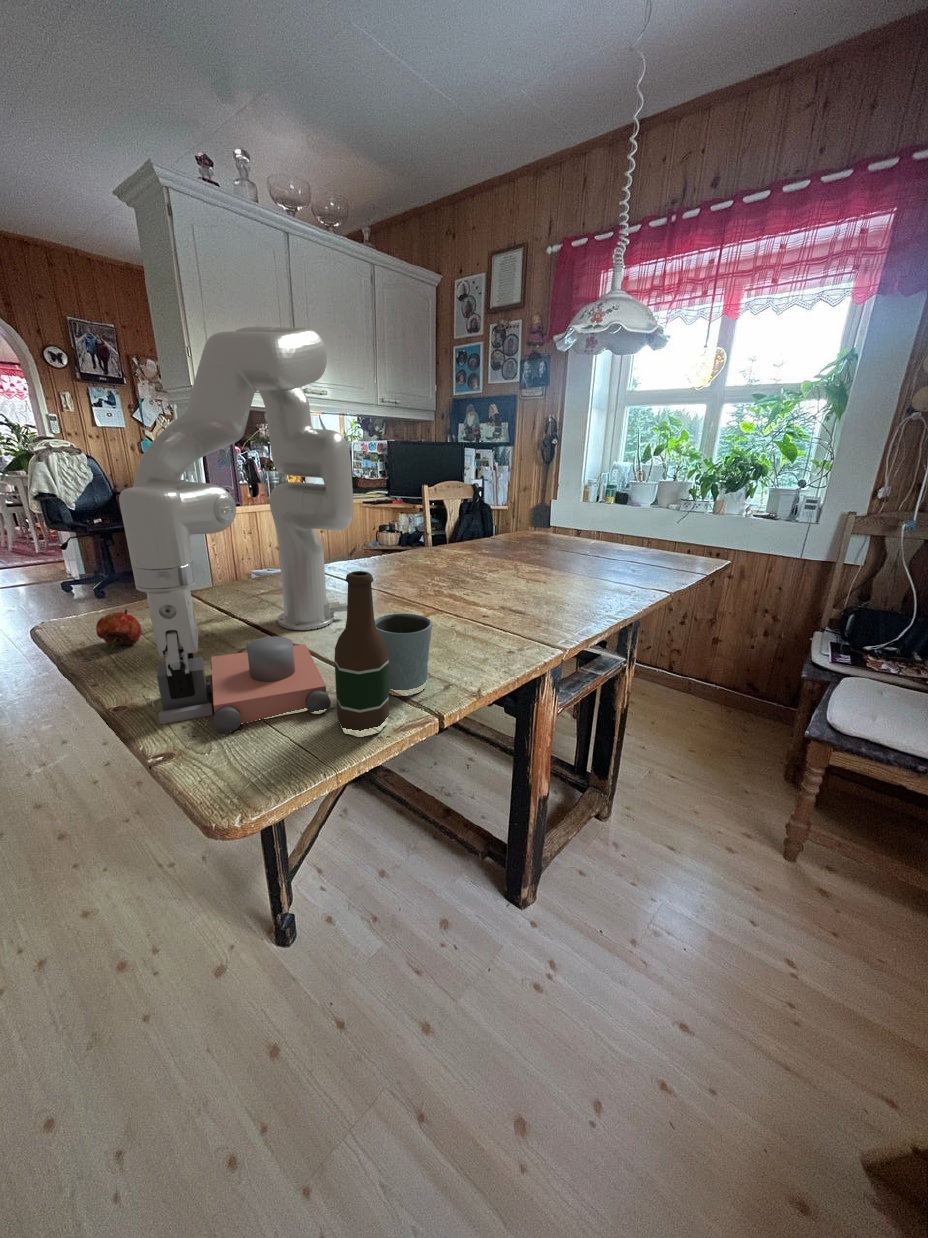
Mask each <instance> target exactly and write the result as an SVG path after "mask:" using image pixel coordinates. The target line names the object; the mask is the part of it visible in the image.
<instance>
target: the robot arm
mask: <svg viewBox="0 0 928 1238" xmlns="http://www.w3.org/2000/svg"><path fill="white" fill-rule="evenodd" d="M200 356H201V357H200V360H199V363H198V367H197V369H196V375H195V378H194V381H193V385H192V388H191V391H190V395H189V399H188V402H187V406H186V408H185V410H184V412H183V413H182V414H181V415H180V416H179V417H177V418H176V419H174V421H172V422H171V423H170V424H169V425H167V426H166V428H165V429H164V430H162V431H161V432H160V433H159V434H158V436H156V437H155V438H154V439H153V441H152V442H150V444H149V445H148V447H147V448H146V449H145V451H144V453H143V454H142V457H141V458H140V462H139V464H138V468H137V471H136V474H135V478H134V481H133V484H132V485H133V486H132V487H128V488H127V487H126V488H125V489H123V490H122V491H120V494H119V496H118V497H119V498H118V501H119V507H120V513H121V517H122V522H123V527H124V532H125V537H126V542H127V544H126V545H127V548H128V552H129V559H130V565H131V568H132V573H133V578H134V584H135V589H136V590H137V591H139V592H143V593H146V597H147V605H148V608H149V614H150V615H149V616H150V619H151V624H152V625H151V626H152V630H153V635H154V640H155V643H156V649H157V651H158V652H157V653H158V655H159V656H160V657H161V658H163V659H164V660H165V662H166V667H167V675H166V676H167V681H168V687H169V692H170V697H171V699H178V698H185V697H191V696H194V695H195V688H194V682H193V676H192V670H191V671H189V663H188V659H190V658H194V655H195V654H197V653H198V651H199V634H198V628H197V627H198V626H197V623H196V617H195V610H194V604H193V599H192V593H191V590H190V588H192V587H194V586H196V584H197V579H196V573H195V565H194V560H193V553H192V547H191V546H192V545H191V539H190V537H191V536H193V535H211V534H212V535H213V534H218V533H221V532H223V531H225V530H227V529H228V528H229V527H230V526H231V525H232V524H233V522H234V521H235V518H236V514H237V506H236V502H235V499H234V497H233V496H232V495H231V493H230V492H229V491H227V489H225V488H223V487H222V486H219V485H217V484H214V483H208V482H200V481H199V482H197V481H187V480H181V478H182V476H183V474H184V473H185V472H186V470H187V469H188V468H189V467H190V466H191V465H193V464H194V463H195V462H197V461H198V460H200V459H202V458H204V457H205V456H208V455H209V454H212V453H215V452H217V451H220V450H222V449H225V448H227V447H229V446H231V445H234V444H235V443H237V442H239V441H240V440H241V439H242V438H243V436H244V435H245V431H246V428H247V424H248V420H249V415H250V411H251V407H252V405H253V400H254V396H255V393H256V392H258V393H259V395H260V397H261V399H262V401H263V405H264V408H265V414H266V422H267V423H266V424H267V430H268V431H267V432H268V439H269V446H270V453H271V459H272V463H273V465H274V468H275V469H276V470H277V472H279V473H281V474H282V475H286V476H291V477H303V478H315V479H316V478H319V479H322V481H323V484H322V483H313V482H297V481H296V482H295V481H291V482H289V481H288V482H282V483H280V484H278V485H276V486H275V487H274V488H273V489H272V491H271V492H270V495H269V509H270V513H271V516H272V519H273V523H274V526H275V531H276V535H277V536H276V537H277V543H278V554H279V564H280V565H279V566H280V577H281V578H280V579H281V587H282V599H283V613H281V614H280V615H279V616H277V623H278V625H279V626H280V627H281V628H285V629H287V630H293V631H310V630H311V629H312V630H317V628H318V629H321V627H322V628H325V627H327V626H329V625H331V624H333V622H334V621H335V615H334V614H335V613H336V612H337V613H338V612H340V613H341V612H342V613H343V612H347V603H340V602H339V601H334V602H329V601H328V599H327V588H326V573H325V572H326V571H325V570H326V569H325V568H326V567H325V551H324V545H323V542H322V540H321V538H320V537H319V534H318V533H317V532H316V530H324V531H325V530H326V531H327V530H328V531H343V530H345V529H347V528H349V527H350V526H351V523H352V521H353V517H354V491H353V490H354V489H353V475H352V461H351V460H352V459H351V451H350V448H349V445H348V442H347V440H346V438H345V437H344V436H343V435H342V434H341V433H340V432H339V431H336V430H332V429H325V428H324V429H322V428H321V429H319V428H313V424H312V416H311V415H312V414H311V409H310V402H309V399H308V397H307V395H306V393H305V391H304V389H303V387H305V386H308V385H310V384H313V383H315V382H318V381H319V379H321V378H322V376H323V375H324V373H325V371H326V368H327V364H328V356H327V350H326V346H325V343H324V341H323V339H322V337H321V336H320V335H319V334H318V333H317V332H316V331H315V330H313V329H311V328H310V327H294V326H293V327H291V326H289V327H288V326H281V327H280V326H247V327H241V328H238V329H236V330H235V331H233V330H232V331H229V330H227V331H220V332H216V333H214V334H212V335H211V336H210V337H209V338H208V339H207V341H206V342H205V344H204V346H203V350H202V353H201V355H200ZM315 529H316V530H315ZM333 620H334V621H333ZM330 623H331V624H330ZM328 624H329V625H328ZM324 626H325V627H324ZM180 660H184V663H183V661H180Z"/></svg>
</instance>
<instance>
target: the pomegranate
mask: <svg viewBox="0 0 928 1238" xmlns="http://www.w3.org/2000/svg"><path fill="white" fill-rule="evenodd" d="M95 628H96V629H95V630H96V631H95V632H96V635H97V637H98V638H100V639H103V640H104V641H105V643H107V644H108V645H110V646H111V647H110V649H109V652H108V655H111V653H112V651H113V649H114V648H115V646H123V645H125V646H132V645H135V644H136V643H137V642H139V640H140V638H141V636H142V626H141V624H140V623H139V621H138V620H137V619H136V617H135V616H133V615H132V614H128V609H124V612H121V611H120V612H117V611H116V612H112V613H109V614H106V615H105V616H104V615H103V616H101V617H100V618H99V619H98V621H97V623H96V627H95Z"/></svg>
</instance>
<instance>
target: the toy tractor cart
mask: <svg viewBox="0 0 928 1238" xmlns="http://www.w3.org/2000/svg"><path fill="white" fill-rule="evenodd" d="M293 642H294V641H293V640H292V639H291V638H288V637H285V636H277V635H276V636H266V637H260V638H257V639H254V640H252V641H250V642H249V643H248V644H247V645H246V652H244V651H243V652H238V653H228V654H226V653H220V654H216V655H215V656H211V657H210V658H211V661H210V669H211V677H212V678H211V679H212V681H210V680H209V681H206V684H207V690H208V694H209V693H212V699H213V700H212V701H213V703H212V702H209V703H207V704H201V705H195V706H190V707H184V708H178V709H172V710H166V711H163V710H161V711H158V715H157V716H158V721H159V725H165V724H169V723H170V724H171V723H176V722H181V721H186V720H187V721H188V720H193V719H197V718H202V717H208V716H212V720H213V721H212V722H213V727H214V729H215V730H216V731H217V732H219V733H222V734H226V733H225V732H230V731H233V730H235V731H236V730H237V729H238V728H239V727H240V724H241V723H247V722H251V721H255V720H259V719H264V718H267V717H272V716H275V715H279V714H283V713H286V712H291V711H295V710H300V709H304V708H307V709H308V711H309V713H310V712H314V711H319V710H324V709H328V708H329V709H330V707H331V705H332V702H331V698H330V697H329V695H328V693H327V685H326V683H325V682H324V679H323V677H322V675H321V673H320V671H319V668H318V667H317V664H316V663H315V661H314V659H313V657H312V654H311V653H310V651H309V649H308V647H307V643H304V644H299V643H293ZM211 682H212V683H211ZM212 704H213V706H212ZM329 709H328V710H329ZM213 710H214V711H213ZM213 712H214V713H213ZM247 724H248V723H247ZM233 732H234V731H233ZM230 733H231V732H230Z"/></svg>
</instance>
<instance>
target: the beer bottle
mask: <svg viewBox="0 0 928 1238" xmlns="http://www.w3.org/2000/svg"><path fill="white" fill-rule="evenodd" d="M345 581H346V582H347V595H346V596H347V599H346V600H347V603H346V604H347V611H346V621H345V627H344V629H343V631H342V632H341V634H339V636H338V638H337V641H336V644H335V646H334V674H335V675H334V676H335V677H334V678H335V697H336V699H335V701H336V714H337V715H336V716H337V721H338V720H339V722H340V724H341V726H342V728H346V729H352V730H359V731H361V730H364V729H369V728H373V727H378V726H380V725H381V724H382V723H383V722H384V721H385V719H386V718H387V717H388V716H389V717H390V695H389V659H388V648H387V646H386V643H385V641H384V638H383V637H382V636H381V634H380V633H379V632H378V630H377V629H376V625H375V620H376V619H375V614H374V613H375V612H374V601H373V589H372V583H373V582H374V578H373V575H372V573H371V572H370V571H369V572H368V571H364V570H356V571H355V570H354V571H351V572H349V573H347V574H346V577H345Z"/></svg>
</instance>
